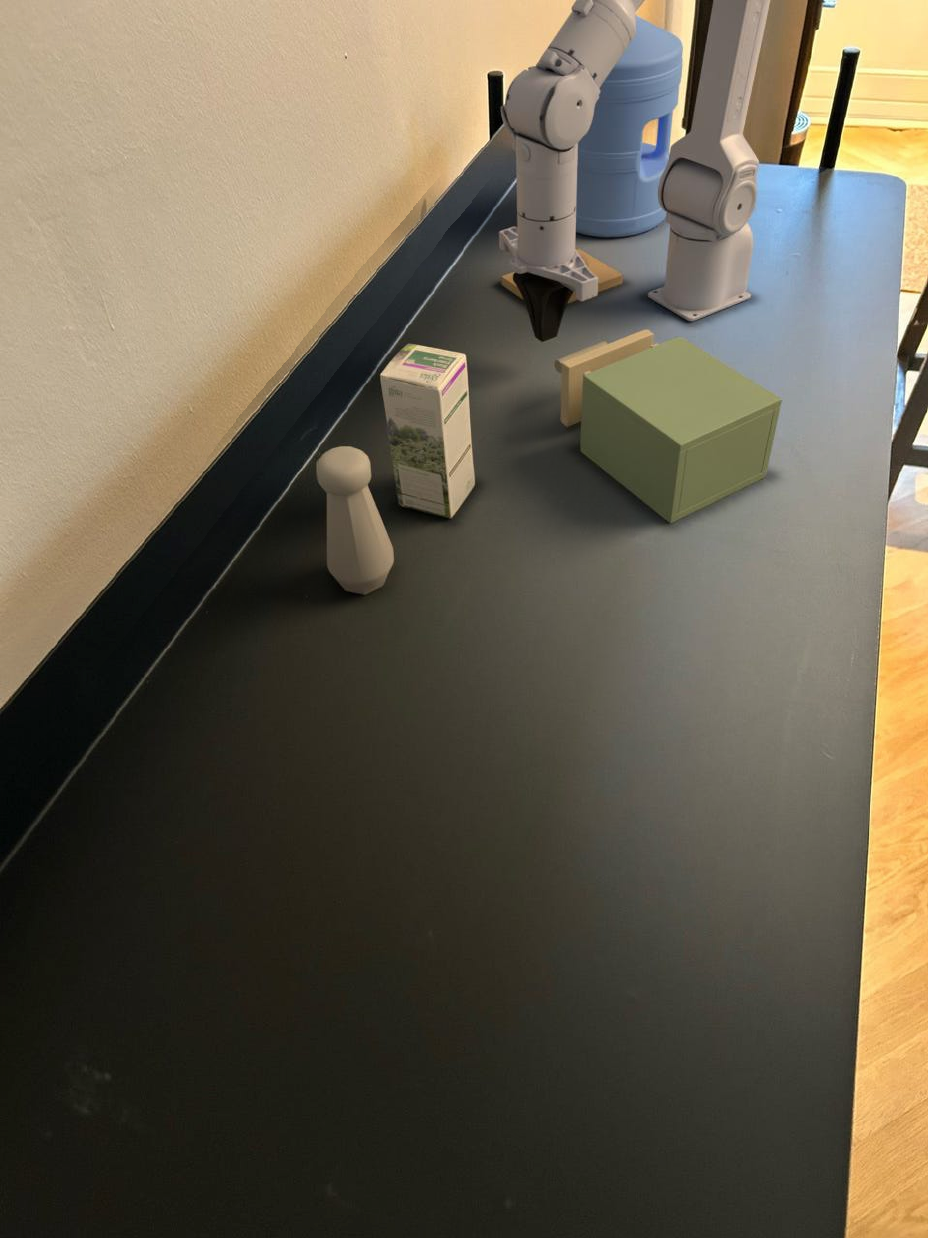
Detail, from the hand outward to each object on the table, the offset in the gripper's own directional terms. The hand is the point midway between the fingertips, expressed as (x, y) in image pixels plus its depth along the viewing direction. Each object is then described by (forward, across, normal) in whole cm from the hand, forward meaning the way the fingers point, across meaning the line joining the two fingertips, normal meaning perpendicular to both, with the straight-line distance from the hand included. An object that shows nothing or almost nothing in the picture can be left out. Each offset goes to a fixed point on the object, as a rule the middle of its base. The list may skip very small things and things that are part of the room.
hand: (546, 336), depth 102 cm
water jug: (+4, -27, +30) cm, 41 cm away
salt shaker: (+4, +18, -32) cm, 37 cm away
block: (+4, -15, +13) cm, 20 cm away
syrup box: (+4, +12, -21) cm, 25 cm away
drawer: (+3, +14, 0) cm, 14 cm away
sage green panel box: (+4, +21, 0) cm, 21 cm away
